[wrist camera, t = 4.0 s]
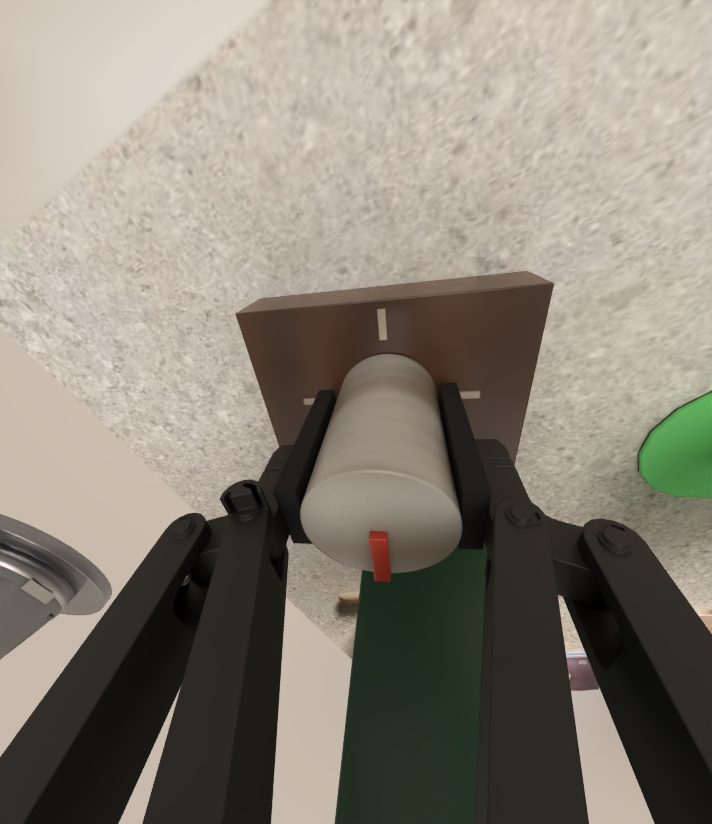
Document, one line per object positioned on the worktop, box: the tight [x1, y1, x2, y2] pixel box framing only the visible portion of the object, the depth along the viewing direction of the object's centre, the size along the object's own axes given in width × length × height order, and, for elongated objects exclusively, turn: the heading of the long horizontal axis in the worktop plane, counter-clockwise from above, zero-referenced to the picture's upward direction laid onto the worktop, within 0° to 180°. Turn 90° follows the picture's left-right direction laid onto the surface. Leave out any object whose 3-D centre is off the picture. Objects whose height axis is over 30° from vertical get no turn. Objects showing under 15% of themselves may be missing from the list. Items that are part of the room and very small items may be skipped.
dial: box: [300, 354, 463, 582], centre depth 12 cm, size 5×5×8 cm
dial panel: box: [236, 271, 554, 464], centre depth 17 cm, size 14×10×3 cm
